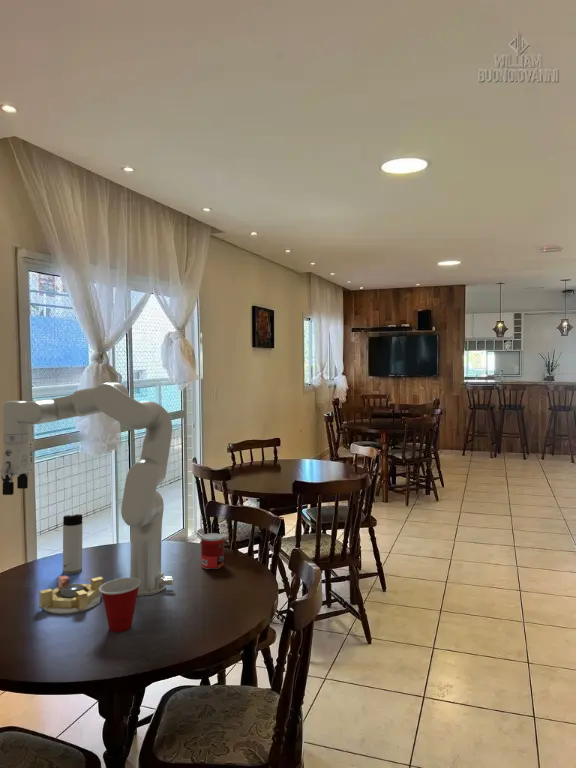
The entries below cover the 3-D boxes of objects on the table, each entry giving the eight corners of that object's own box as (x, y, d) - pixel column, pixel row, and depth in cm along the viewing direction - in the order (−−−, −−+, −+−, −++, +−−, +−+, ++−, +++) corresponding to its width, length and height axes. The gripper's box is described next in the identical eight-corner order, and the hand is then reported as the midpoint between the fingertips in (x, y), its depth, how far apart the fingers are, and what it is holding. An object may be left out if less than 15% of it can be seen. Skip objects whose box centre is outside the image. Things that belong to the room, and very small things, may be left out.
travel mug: (63, 576, 183) (64, 517, 182) (61, 569, 188) (62, 512, 188) (83, 573, 185) (83, 515, 185) (80, 567, 191) (81, 510, 191)
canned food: (222, 570, 190) (222, 539, 190) (199, 570, 190) (199, 539, 190) (224, 563, 197) (225, 533, 197) (203, 562, 198) (203, 532, 197)
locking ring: (105, 590, 168) (105, 576, 168) (84, 609, 154) (84, 595, 154) (60, 588, 169) (60, 575, 169) (36, 607, 155) (36, 593, 155)
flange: (109, 593, 169) (109, 579, 169) (86, 615, 153) (86, 600, 153) (57, 591, 170) (57, 577, 170) (30, 613, 154) (30, 597, 154)
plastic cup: (107, 618, 151) (107, 575, 151) (145, 619, 151) (145, 576, 151) (91, 636, 141) (92, 590, 140) (133, 637, 140) (133, 591, 140)
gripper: (14, 442, 167) (14, 497, 167) (39, 436, 184) (38, 486, 184) (-10, 441, 166) (-11, 497, 167) (16, 435, 184) (16, 486, 184)
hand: (15, 491), depth 175 cm, fingers open, 9 cm apart
